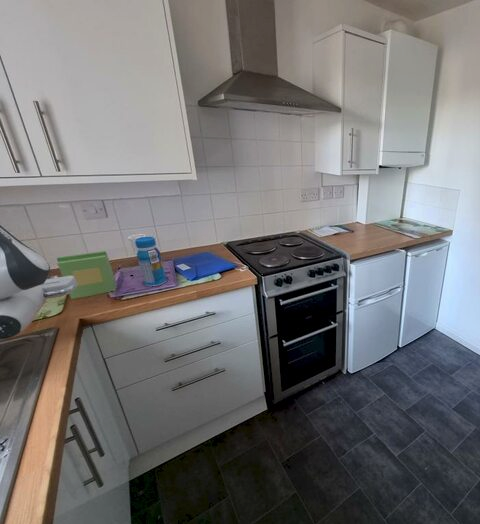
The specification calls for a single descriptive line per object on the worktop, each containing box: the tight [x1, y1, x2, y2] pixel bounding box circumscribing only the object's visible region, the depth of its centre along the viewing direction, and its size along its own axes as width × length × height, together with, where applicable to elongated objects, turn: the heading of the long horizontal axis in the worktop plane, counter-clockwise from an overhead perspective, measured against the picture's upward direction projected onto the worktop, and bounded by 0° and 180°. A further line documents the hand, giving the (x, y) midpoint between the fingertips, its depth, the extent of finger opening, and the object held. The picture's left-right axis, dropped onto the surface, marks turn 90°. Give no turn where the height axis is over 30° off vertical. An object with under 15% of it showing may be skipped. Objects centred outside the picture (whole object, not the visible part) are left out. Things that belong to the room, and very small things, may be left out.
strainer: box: [127, 233, 147, 256], centre depth 148 cm, size 7×7×15 cm
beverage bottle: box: [134, 236, 167, 288], centre depth 125 cm, size 8×8×20 cm
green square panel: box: [56, 250, 118, 300], centre depth 117 cm, size 14×5×16 cm, turn 122°
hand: (37, 280), depth 92 cm, fingers closed on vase, 7 cm apart
